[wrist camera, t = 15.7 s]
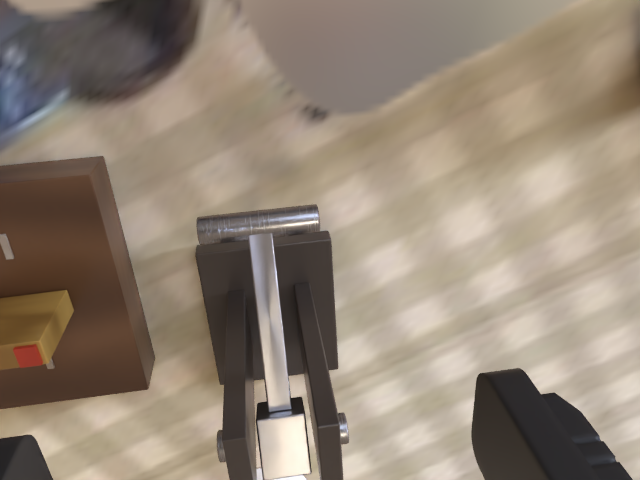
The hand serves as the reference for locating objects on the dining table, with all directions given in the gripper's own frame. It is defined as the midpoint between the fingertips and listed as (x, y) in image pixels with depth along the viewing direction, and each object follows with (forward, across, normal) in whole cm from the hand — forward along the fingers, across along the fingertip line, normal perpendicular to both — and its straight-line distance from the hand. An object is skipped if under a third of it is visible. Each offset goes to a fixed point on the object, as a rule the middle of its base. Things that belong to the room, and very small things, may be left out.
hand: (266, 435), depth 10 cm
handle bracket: (+22, 0, +12) cm, 25 cm away
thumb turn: (+19, +13, +8) cm, 24 cm away
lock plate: (+22, +13, +8) cm, 27 cm away
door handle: (+14, 0, +8) cm, 16 cm away
